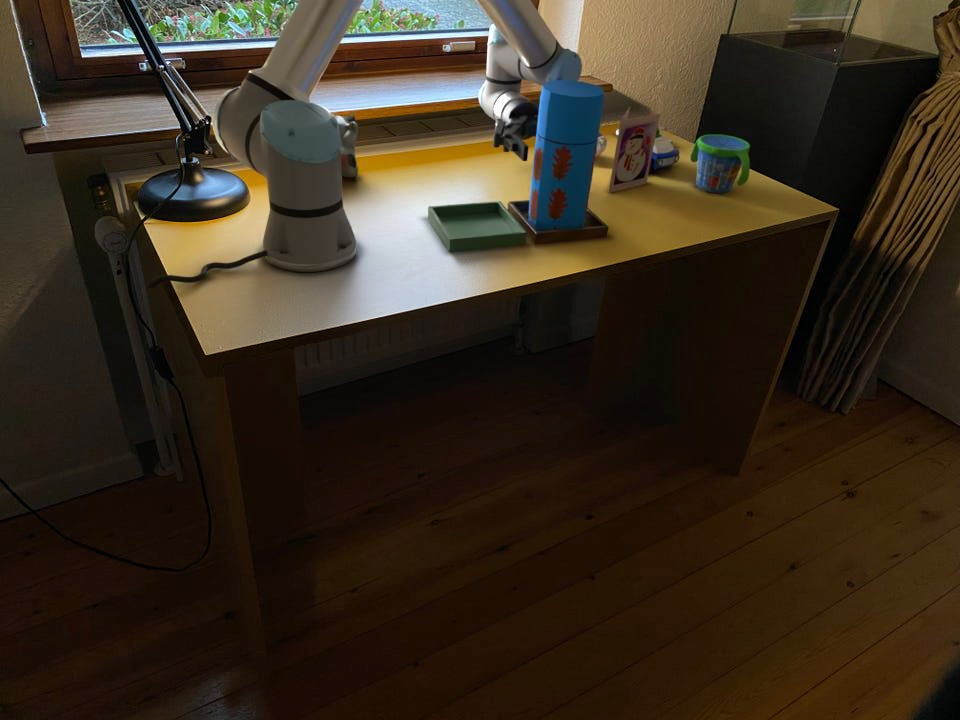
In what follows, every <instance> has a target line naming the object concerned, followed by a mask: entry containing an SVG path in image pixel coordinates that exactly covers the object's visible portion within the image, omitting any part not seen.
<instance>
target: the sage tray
mask: <svg viewBox="0 0 960 720" xmlns="http://www.w3.org/2000/svg"><path fill="white" fill-rule="evenodd" d="M427 220H428V221H429V223H430V224H431V227H432V228H433V229H434V231H435V232H436V234H437V235H438V237H439V239H440V240H441V243H443V245H444V246H445V248H446V249H447V251H448V253H458V252H460V253H461V252H471V251H479V250H490V249H491V250H492V249H499V248H500V249H502V248H513V247H520V246H521V247H522V246H526V245H527V238H528V236H527V232H526V231H525V230H524V228H523V227H522V226H521V225H520V224H519V223H518V221H517V220H516V219H515V218H514V217H513V216H512V214H511V213H510V212H509V211H508V208H506V206H505V205H504V204H503V203H502V201H500V200H499V201H498V200H497V201H496V200H495V201H483V202H482V201H481V202H470V203H457V204H456V203H455V204H444V205H429V206H428V207H427Z"/></svg>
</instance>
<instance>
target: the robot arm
mask: <svg viewBox="0 0 960 720" xmlns="http://www.w3.org/2000/svg"><path fill="white" fill-rule="evenodd" d="M364 1H365V0H298V2H297V4H296V6H295V8H294V10H293V11H292V13H291V15H290V17H289V18H288V20H287V22H286V24H285V26H284V28H283V30H282V31H281V33H280V35H279V37H278V39H277V40H276V41H275V44H274V45H273V48H272V49H271V51H270V53H269V55H268V56H267V58H266V60H265V62H264V64H263V66H262V67H259V68H255V69H250V70H249V71H248V72H247V73H246V75H245V77H244V79H243V81H242V82H241V85H240V86H236V87H234V88H232V89H228V90H226V91H225V92H223V93H222V94H221V96H220V97H219V98H218V99H217V101H216V103H215V105H214V108H213V111H212V119H211V125H212V130H213V133H214V137H215V140H216V141H217V143H218V144H219V146H220V147H221V148H222V150H223V151H224V152H226V153H227V154H228V155H229V156H230V157H231V158H232V159H233V160H234V161H236V162H238V163H240V164H242V165H244V166H246V167H248V168H249V169H251V170H253V171H254V172H256V173H258V174H259V175H261V176H262V177H264V178H266V179H265V180H266V186H267V195H268V202H269V213H268V216H267V221H266V225H265V230H264V233H263V239H262V250H261V251H258V252H256V253H252V254H250V255H247V256H245V257H242V258H240V259H237V260H235V261H232V262H231V261H230V262H221V261H220V262H217V261H215V262H209V263H207V264H205V265H203V266H202V268H201V270H200V273H199V274H197V275H194V276H182V275H174V274H163V275H159V276H156V277H154V278H153V279H152V280H151V281H150V282H149V283H148V284H147V285H146V289H153V288H156V286H157V285H159V284H161V283H163V282H174V283H175V282H177V283H184V284H185V283H186V284H193V283H197V282H201V281H203V280H204V279H205V278H206V276H207V275H208V272H209V271H211V270H213V269H222V270H223V269H224V270H227V269H228V270H229V269H230V270H231V269H235V268H238V267H241V266H244V265H245V264H247V263H250V262H253V261H256V260H259V259H261V258H264V259H265V261H267V262H268V263H269V264H271V265H272V266H273V267H276V268H279V269H282V270H286V271H290V272H291V271H292V272H300V273H315V272H316V273H317V272H324V271H329V270H332V269H335V268H336V269H337V268H339V267H341V266H343V265H345V264H347V263H348V262H350V261H351V260H353V258H354V257H355V255H356V253H357V240H356V236H355V234H354V230H353V227H352V224H351V223H350V220H349V218H348V216H347V214H346V210H345V208H344V199H343V196H344V194H343V176H342V170H341V137H340V132H339V126H338V122H337V119H336V118H335V116H336V115H334V114H333V112H331V111H330V110H329V109H328V108H326V107H324V106H323V105H320V104H317V103H314V102H311V96H312V95H313V93H314V91H315V89H316V87H317V85H318V83H319V82H320V80H321V78H322V76H323V75H324V73H325V71H326V69H327V68H328V65H329V64H330V62H331V60H332V59H333V57H334V55H335V53H336V51H337V49H338V48H339V46H340V44H341V42H342V40H343V39H344V37H345V35H346V33H347V31H348V30H349V28H350V26H351V24H352V23H353V21H354V19H355V17H356V15H357V13H358V12H359V10H360V9H361V7H362V4H363V3H364ZM475 2H476V3H477V5H478V6H479V7H480V8H481V10H482V11H483V13H484V14H485V15H486V16H487V18H488V19H489V20H490V21H491V22H492V23H491V25H490V27H489V32H488V40H487V49H486V50H487V51H486V53H487V54H486V70H485V71H486V74H485V81H484V82H483V84H481V86H480V89H479V90H478V102H479V106H480V107H481V108H482V110H483V112H484V113H485V114H486V116H488V117H490V118H491V119H493V120H494V122H495V129H494V132H493V141H492V147H493V148H500V146H502V152H503V153H509V152H512V153H514V154H515V155H516V156H517V157H518V158H519V159H520V160H521V161H522V162H528V157H529V147H530V146H529V145H528V143H526V142H525V140H530V139H531V138H533V137H534V138H536V134H537V124H538V114H539V106H537V104H535V103H534V102H532V101H531V100H530V99H529V98H528V97H526V96H524V95H523V94H522V93H521V89H522V80H525V81H528V82H530V83H534V84H536V85H539V86H542V87H543V85H544V83H547V82H550V81H556V80H570V81H580V78H581V75H582V71H583V63H582V58H581V57H580V54H578V52H575V51H574V50H571V49H570V48H564V47H563V46H562V45H561V44H560V42H559V41H558V39H557V38H556V37H555V35H554V34H553V32H552V30H551V29H550V27H549V26H548V24H547V23H546V22H545V20H544V19H543V17H542V15H541V14H540V12H539V11H538V10H537V8H536V6H535V5H534V3H533V2H532V1H531V0H475ZM597 143H598V142H597ZM596 149H597V148H596ZM595 156H596V155H595ZM596 157H597V156H596ZM153 389H154V393H155V397H156V401H157V405H158V409H159V411H160V416H161V420H162V425H163V427H164V431H165V434H166V438H167V442H168V447H169V449H170V453H171V457H172V461H173V465H174V468H175V469H174V470H175V474H176V480H177V481H178V482H182V481H183V480H184V478H183V477H184V476H183V472H182V469H181V462H180V460H179V455H178V451H177V447H176V443H175V439H174V436H173V431H172V427H171V423H170V420H169V416H168V413H167V409H166V406H165V405H166V404H165V401H164V397H163V394H162V389H161V385H154V386H153Z"/></svg>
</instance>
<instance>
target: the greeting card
mask: <svg viewBox="0 0 960 720" xmlns="http://www.w3.org/2000/svg"><path fill="white" fill-rule="evenodd" d="M630 109H631V106H629V107H628V109H627V110H626V112H625V113H624V115H623V116H622V118H621V119H620V121H619V127H618V129H619V133H618V135H617V140H616V146H615V151H614V157H613V162H612V168H611V170H612V171H611V175H610V180H609V187H608V194H610V193H614V192H618V191H622V190H625V189H630V188H634V187H638V186H642V185H646V184H647V183H648V177H649V173H650V172H649V167H650V162H651V157H652V152H653V147H654V142H655V137H656V132H657V127H658V126H659V121H660V118H661V117H660V116H661V113H656V114H651V115H649V114H648V115H645V116H639V117H634V118H629V116H630Z"/></svg>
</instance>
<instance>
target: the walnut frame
mask: <svg viewBox="0 0 960 720" xmlns="http://www.w3.org/2000/svg"><path fill="white" fill-rule="evenodd" d="M529 201H530V199H526V200H512V201H508V202H507V210H508V211H509V212H510V213H511V214H512V216H513V217H514V218H515V219H516V220H517V221H518V223H519V224H520V225H521V226H522V227H523V228H524V230H525V231H526V232H527V238H528V239H529V240H530V241H531V242H532V243H533V244H534V245H544V244H545V245H546V244H554V243H564V242H566V243H567V242H577V241H586V240H596V239H607V238H608V235H609V229H610V227H609V225H608V224H607V223H605V221H603V220H602V219H601V217H599V216H598V215H597V214H596V213H595V212H594V211H593V210H592V209H590V207H588V208H587V212H586V217H585V222H587V223H588V225H590V226H585V227H584V226H583V228H573V229H562V230H551V231H540V232H538V231H537V230H536V228H535V227H534V226H533V225H532V224H531V223H530V222H529V221H528V220H529V218H527V217H526V216H525V215H524V214H523V213H529Z"/></svg>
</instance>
